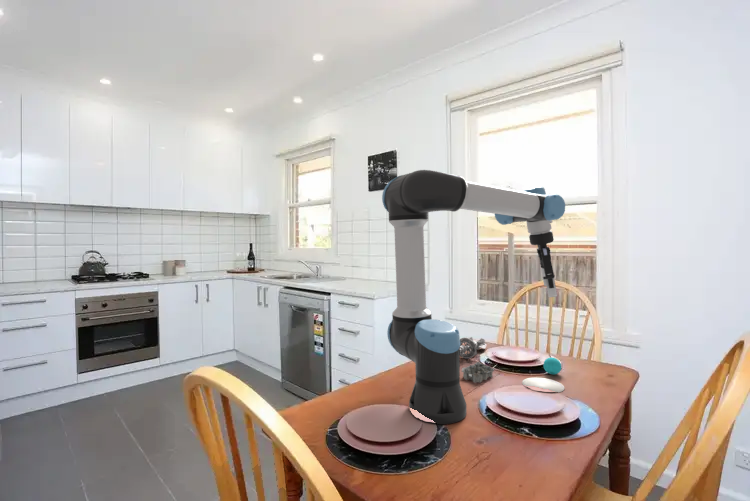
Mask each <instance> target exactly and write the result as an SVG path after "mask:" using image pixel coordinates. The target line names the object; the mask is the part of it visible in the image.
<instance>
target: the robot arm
mask: <svg viewBox="0 0 750 501" xmlns="http://www.w3.org/2000/svg"><path fill="white" fill-rule="evenodd" d="M381 196H382V197H381V199H382V205H383V207H384V209H385V211H386V212H387V213H388V223H389V224H390V225H392V227H393V228H394V229H393V230H394V250H395V251H394V255H395V280H396V281H395V282H396V286H395V287H396V308H395V309H394V311H392V315H391V316H392V320H391V321H390V323H389V324H388V328H387V332H386V333H387V339H388V342H389V344H390V346H391V348H393V349H394V350H395V352H397V353H398V354H399V355H400V356H404V357H405V358H407V359H408V360H409V361H412V362H414V364H415V382H414V385H413V388H412V391H411V394H410V398H409V400H408V402H409V403H408V405H409V406H408V408H409V407H410V408H412V409H414V410H417V411H418V412H419V413H421V414H422V415H424V416H425V417H427V418H429V419H431V420H433V421H434V422H436V423H437V424H436V425H450V424H454V423H458V422H460V421H462V420H464V419H465V418H466V417H467V401H466V400H465V395H464V393H463V389H462V386H461V382H460V379H461V378H460V376H461V373H460V372H461V370H460V368H461V366H460V365H461V364H460V363H461V362H460V361H461V360H460V359H461V357H460V339H461V338H460V337H461V336H460V332H459V329H458V327H457V326H456V325H454V324H453V323H450V322H449V321H446V320H440V319H433V318H432V311H431V310H430V309H429V308H428V307H427V297H426V296H427V295H426V266H425V263H426V262H425V239H424V238H425V236H424V234H425V233H424V231H425V230H424V226H425V225H426V224H427V222H428V221H429V213H433V212H439V211H440V212H445V211H449V212H458V211H459V210H467V211H474V212H481V213H482V212H483V213H488V214H494V218H495V220H496V221H497V223H498V224H500V225H503V226H504V225H505V226H506V225H511V224H513V223H517V222H518V223H521V222H522V223H523V222H526V227H527V232H528V233H529V235H528V238H529V244H530V245H531V246H537V248H536V252H537V257H538V258H539V259H538V260H539V265H540V269H541V275H542V281H543V282H542V283H543V286H544V287H546V290H547V297H548V298H554V297H555V298H556V297H558V293H557V287H556V280H555V272H554V268H553V265H552V264H553V263H552V256H551V248H550V246H548V245H547V244H551V243H553V242H554V234H553V233H554V232H553V231H552V223H553V221H555V220H559V219H561V218H562V217H563V216H564V215H565V211H566V202H565V200H564V198H563V197H562V196H561V195H560V194H557V193H556V194H551V193H549V194H547V193H546V189H545V187H543V186H541V185H539V186H533V187H530V188H525V189H523V190H518V189H517V190H515V189H511V188H505V187H500V186H494V185H490V184H484V183H480V182H479V183H477V182H473V181H466V179H465V178H464V177H463V176H461V175H456V174H450V173H446V172H443V171H437V170H430V169H418V170H415V171H412V172H409V173H406V174H401V175H399V176H398V175H397V176H396V177H395V178H393V179H391V180H390V181H389V182H388V183H387V184H386V185H385V187H384V188H383V191H382V195H381Z"/></svg>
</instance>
